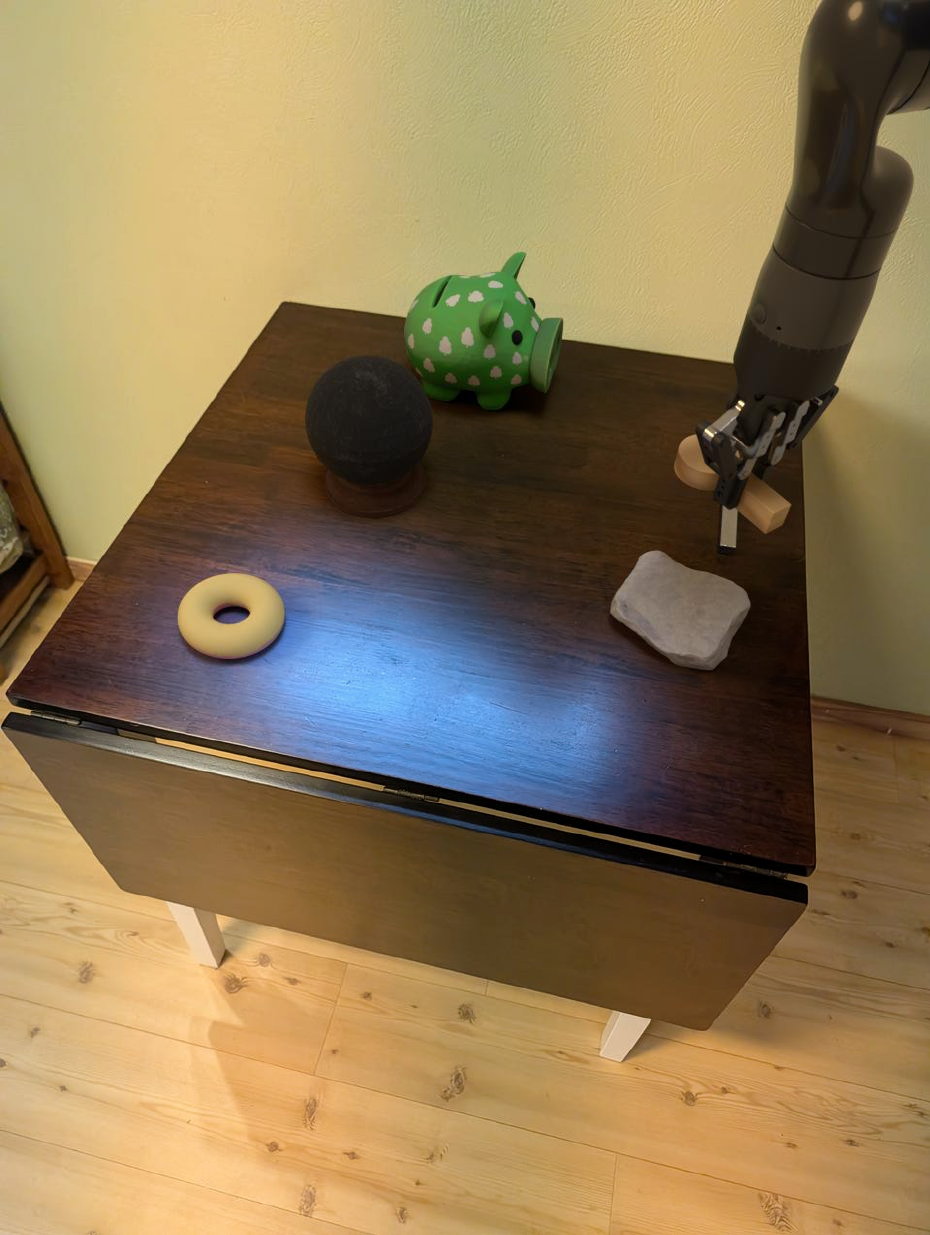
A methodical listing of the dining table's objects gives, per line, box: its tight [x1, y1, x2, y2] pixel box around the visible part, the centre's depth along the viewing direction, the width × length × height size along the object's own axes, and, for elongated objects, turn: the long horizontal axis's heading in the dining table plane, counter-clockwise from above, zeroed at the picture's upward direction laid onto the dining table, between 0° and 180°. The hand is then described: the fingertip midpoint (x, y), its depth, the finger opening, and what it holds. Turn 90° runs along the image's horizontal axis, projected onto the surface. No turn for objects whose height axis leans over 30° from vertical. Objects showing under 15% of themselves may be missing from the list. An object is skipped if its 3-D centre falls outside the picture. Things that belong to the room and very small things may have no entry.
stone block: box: [609, 550, 751, 671], centre depth 81 cm, size 12×5×10 cm
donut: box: [177, 572, 286, 660], centre depth 80 cm, size 10×5×9 cm
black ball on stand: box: [304, 354, 434, 519], centre depth 88 cm, size 13×13×15 cm
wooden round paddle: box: [673, 433, 792, 535], centre depth 72 cm, size 11×5×2 cm, turn 33°
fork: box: [713, 458, 743, 556], centre depth 92 cm, size 14×3×1 cm, turn 167°
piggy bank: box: [403, 251, 564, 411], centre depth 99 cm, size 14×18×15 cm
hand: (736, 496), depth 72 cm, fingers closed on wooden round paddle, 2 cm apart
